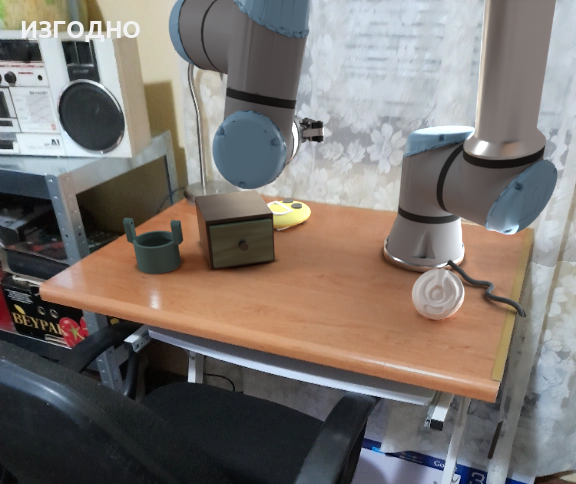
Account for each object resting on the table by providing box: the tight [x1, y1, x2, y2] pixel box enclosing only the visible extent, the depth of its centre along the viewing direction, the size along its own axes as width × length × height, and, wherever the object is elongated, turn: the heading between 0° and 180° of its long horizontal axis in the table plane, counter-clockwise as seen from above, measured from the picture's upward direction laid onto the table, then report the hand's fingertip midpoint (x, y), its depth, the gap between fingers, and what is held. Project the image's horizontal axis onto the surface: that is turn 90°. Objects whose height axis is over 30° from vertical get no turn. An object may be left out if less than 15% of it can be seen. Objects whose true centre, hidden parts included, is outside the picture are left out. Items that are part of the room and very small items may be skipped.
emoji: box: [266, 197, 311, 232], centre depth 117 cm, size 4×12×12 cm
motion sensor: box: [411, 268, 465, 321], centre depth 84 cm, size 8×8×8 cm
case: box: [194, 189, 276, 271], centre depth 104 cm, size 14×13×10 cm
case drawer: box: [209, 218, 273, 268], centre depth 102 cm, size 14×11×8 cm
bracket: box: [122, 217, 184, 275], centre depth 100 cm, size 9×9×9 cm
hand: (292, 124), depth 87 cm, fingers closed
